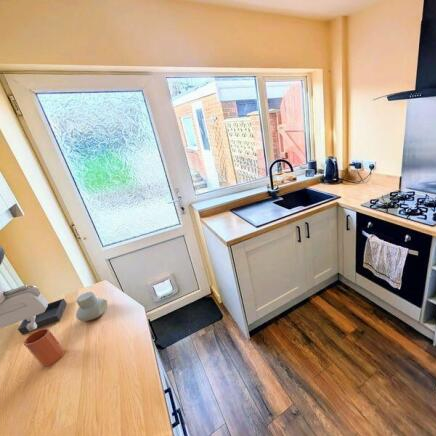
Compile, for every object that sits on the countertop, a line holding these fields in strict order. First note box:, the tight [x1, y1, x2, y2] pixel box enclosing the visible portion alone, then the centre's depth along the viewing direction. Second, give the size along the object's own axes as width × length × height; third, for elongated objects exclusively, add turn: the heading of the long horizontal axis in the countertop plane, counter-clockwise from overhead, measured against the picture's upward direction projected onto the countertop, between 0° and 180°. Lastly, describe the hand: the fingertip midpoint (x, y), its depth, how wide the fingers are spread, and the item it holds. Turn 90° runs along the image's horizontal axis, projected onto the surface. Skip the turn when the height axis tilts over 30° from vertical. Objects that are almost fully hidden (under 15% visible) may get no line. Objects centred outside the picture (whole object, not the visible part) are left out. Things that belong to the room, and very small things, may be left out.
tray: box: [17, 298, 68, 336], centre depth 105 cm, size 12×12×3 cm
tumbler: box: [22, 327, 66, 367], centre depth 84 cm, size 6×6×11 cm
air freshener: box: [75, 291, 108, 322], centre depth 102 cm, size 11×8×10 cm
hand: (11, 337), depth 69 cm, fingers open, 8 cm apart
